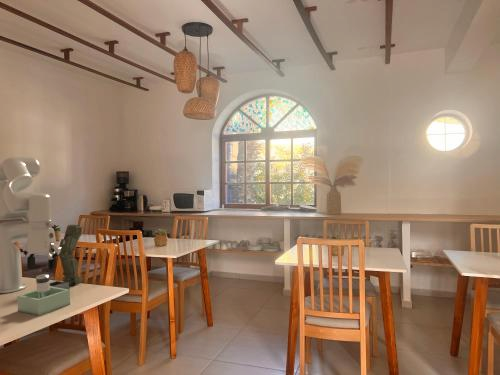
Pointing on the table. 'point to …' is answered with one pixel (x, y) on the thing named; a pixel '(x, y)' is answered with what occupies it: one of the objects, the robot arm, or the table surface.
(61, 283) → the socket block
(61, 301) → the bin
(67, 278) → the mechanical leg
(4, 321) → the table surface
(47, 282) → the strut
